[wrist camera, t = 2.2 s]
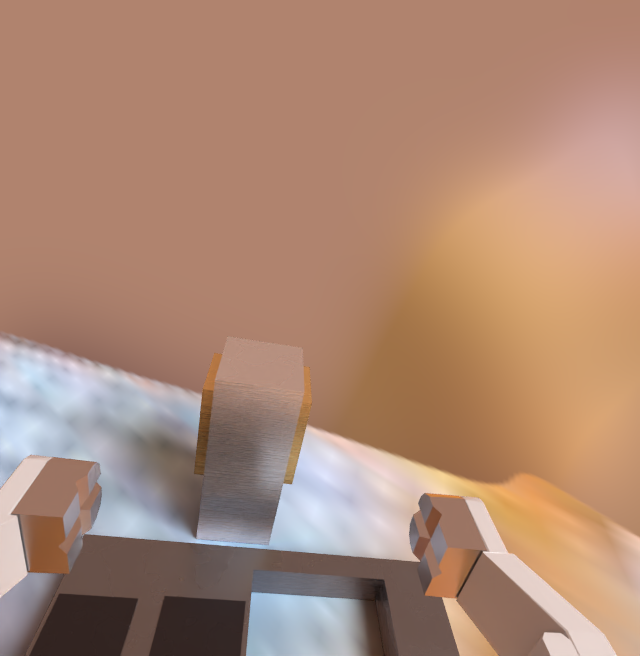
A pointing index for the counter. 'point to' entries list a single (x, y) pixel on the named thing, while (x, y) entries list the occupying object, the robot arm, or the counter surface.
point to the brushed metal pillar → (249, 437)
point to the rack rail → (220, 599)
